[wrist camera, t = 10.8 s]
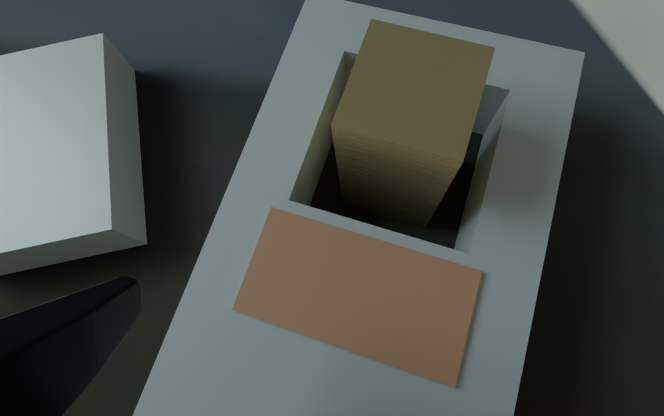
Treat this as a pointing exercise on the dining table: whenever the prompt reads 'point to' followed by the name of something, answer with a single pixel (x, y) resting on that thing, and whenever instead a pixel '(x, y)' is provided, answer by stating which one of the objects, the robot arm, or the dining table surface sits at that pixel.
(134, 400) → the dining table surface
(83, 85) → the white rectangular block
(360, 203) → the gold brass pillar
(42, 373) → the robot arm
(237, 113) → the dining table surface
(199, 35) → the dining table surface
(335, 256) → the grey box with opening
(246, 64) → the dining table surface
